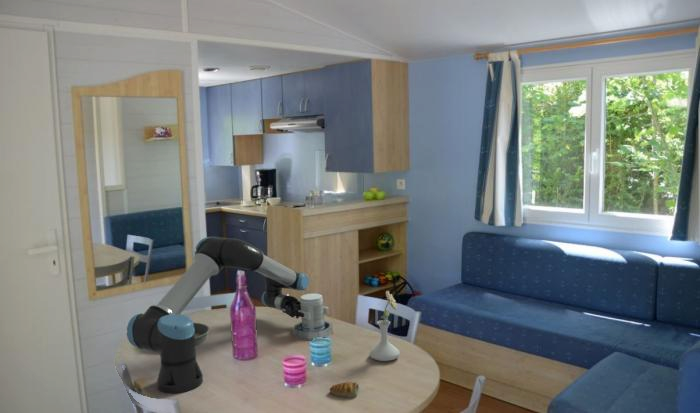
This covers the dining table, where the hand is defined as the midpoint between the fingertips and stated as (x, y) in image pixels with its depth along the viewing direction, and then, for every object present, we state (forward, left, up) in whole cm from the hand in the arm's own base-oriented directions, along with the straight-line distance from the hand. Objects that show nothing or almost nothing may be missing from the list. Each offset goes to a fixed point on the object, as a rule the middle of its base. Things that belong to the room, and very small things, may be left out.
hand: (319, 313), depth 240 cm
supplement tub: (+4, +1, -8) cm, 9 cm away
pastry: (-53, +21, -10) cm, 58 cm away
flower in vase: (-37, -7, -10) cm, 39 cm away
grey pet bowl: (+4, +1, -9) cm, 10 cm away
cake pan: (+31, +50, -10) cm, 60 cm away
